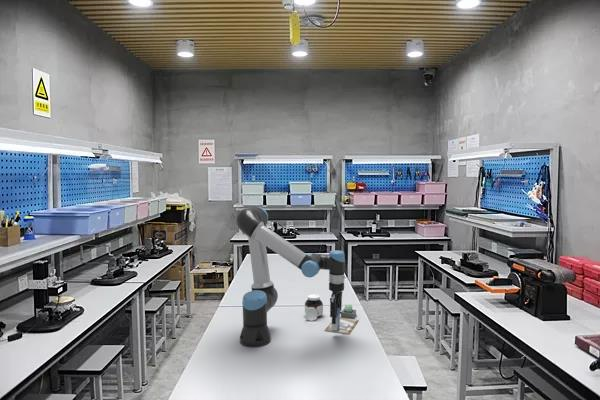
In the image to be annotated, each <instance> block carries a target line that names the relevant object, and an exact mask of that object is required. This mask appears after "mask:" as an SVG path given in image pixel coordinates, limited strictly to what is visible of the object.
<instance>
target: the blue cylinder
mask: <svg viewBox="0 0 600 400" xmlns="http://www.w3.org/2000/svg"><path fill="white" fill-rule="evenodd" d="M340 312H341V311H340V308H338V307H337V330H332V331H334V332H333V333H335V332H338V331H340V317H341V314H340Z"/></svg>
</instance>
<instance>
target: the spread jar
mask: <svg viewBox="0 0 600 400" xmlns="http://www.w3.org/2000/svg"><path fill="white" fill-rule="evenodd" d="M320 298H321V296H320V295H319V294H314V293H313V294H309V295H307V299H306V301H305V303H304V313H305V314H304V316H305V318H306V319H307V321H311V322H312V321H315V320H316V319H318V318H320V317H322V316H323V314H324V304H323V303H324V302H323V301H322V300H321V299H320Z"/></svg>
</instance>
